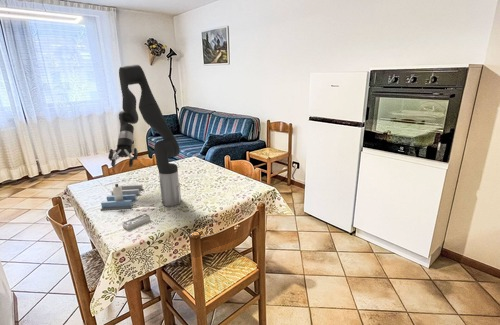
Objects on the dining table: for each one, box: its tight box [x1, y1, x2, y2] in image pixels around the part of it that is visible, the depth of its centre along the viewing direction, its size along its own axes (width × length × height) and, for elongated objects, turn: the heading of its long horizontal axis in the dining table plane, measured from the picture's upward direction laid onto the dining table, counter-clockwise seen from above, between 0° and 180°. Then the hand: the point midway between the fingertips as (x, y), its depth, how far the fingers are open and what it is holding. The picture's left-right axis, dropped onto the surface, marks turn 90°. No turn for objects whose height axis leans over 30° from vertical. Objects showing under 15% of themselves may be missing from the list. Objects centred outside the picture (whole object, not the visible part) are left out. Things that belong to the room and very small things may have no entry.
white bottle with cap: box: [112, 183, 123, 201], centre depth 136 cm, size 4×4×10 cm
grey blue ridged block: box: [100, 183, 144, 212], centre depth 144 cm, size 14×26×4 cm, turn 7°
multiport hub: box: [122, 213, 151, 231], centre depth 120 cm, size 4×11×2 cm, turn 142°
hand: (121, 166), depth 143 cm, fingers open, 8 cm apart
